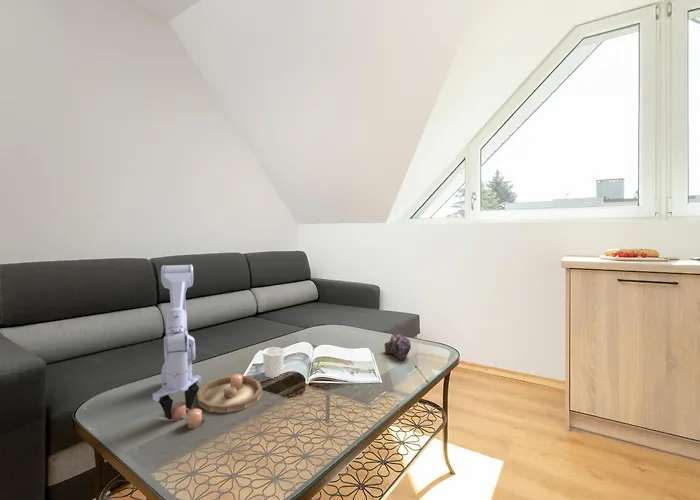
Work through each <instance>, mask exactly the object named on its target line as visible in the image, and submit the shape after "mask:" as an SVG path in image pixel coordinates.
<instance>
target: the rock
mask: <svg viewBox="0 0 700 500" xmlns="http://www.w3.org/2000/svg"><path fill="white" fill-rule="evenodd" d="M411 345H412V344H411V340H410V339H408V337H406V336H404V335H403V334H399V333H392V334H391V336H390V339H389V340H388V342H385V343H384V352H385V353H386V354H387V355H391V356H394V357H396V358H397V359H399V360H400V361H401V360H402V361H404V360H406V358H407V356H408V355H409V352H410V351H411V349H412V348H411Z"/></svg>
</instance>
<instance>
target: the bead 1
mask: <svg viewBox="0 0 700 500" xmlns="http://www.w3.org/2000/svg"><path fill="white" fill-rule="evenodd" d="M186 416H187V408H186V403H185V401H178V402H175V403H172V418H171V420H172V421H173V422H180V421H183V420H185V419H186V418H184V417H186Z"/></svg>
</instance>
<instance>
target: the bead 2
mask: <svg viewBox="0 0 700 500" xmlns="http://www.w3.org/2000/svg"><path fill="white" fill-rule="evenodd" d="M202 414H203V410H202V409H200V408H193V409H189V410H188V411H186V419H187V420H186V422H187V423H186V424H187V428H188V429H190V430H195V429H199V427H201V426H202V424H203V423H202V422H203V415H202Z"/></svg>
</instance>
